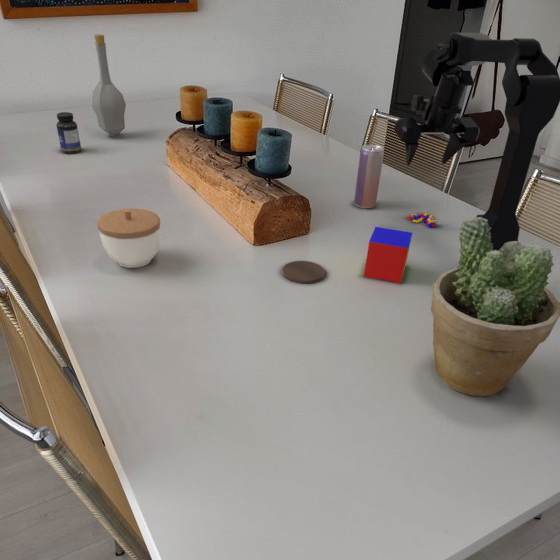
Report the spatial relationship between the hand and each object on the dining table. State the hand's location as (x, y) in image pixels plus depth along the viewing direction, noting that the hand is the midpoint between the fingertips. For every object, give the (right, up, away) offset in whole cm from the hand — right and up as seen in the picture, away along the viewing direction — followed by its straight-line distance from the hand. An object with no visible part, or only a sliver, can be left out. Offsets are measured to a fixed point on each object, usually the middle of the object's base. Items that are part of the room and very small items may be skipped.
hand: (425, 163), depth 129 cm
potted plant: (-3, -50, -38) cm, 63 cm away
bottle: (-92, +32, +58) cm, 114 cm away
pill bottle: (-101, +21, +44) cm, 112 cm away
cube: (-12, -28, -11) cm, 32 cm away
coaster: (-30, -28, -13) cm, 43 cm away
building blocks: (+3, -10, +12) cm, 16 cm away
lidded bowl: (-66, -26, -12) cm, 72 cm away
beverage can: (-11, -4, +19) cm, 23 cm away
